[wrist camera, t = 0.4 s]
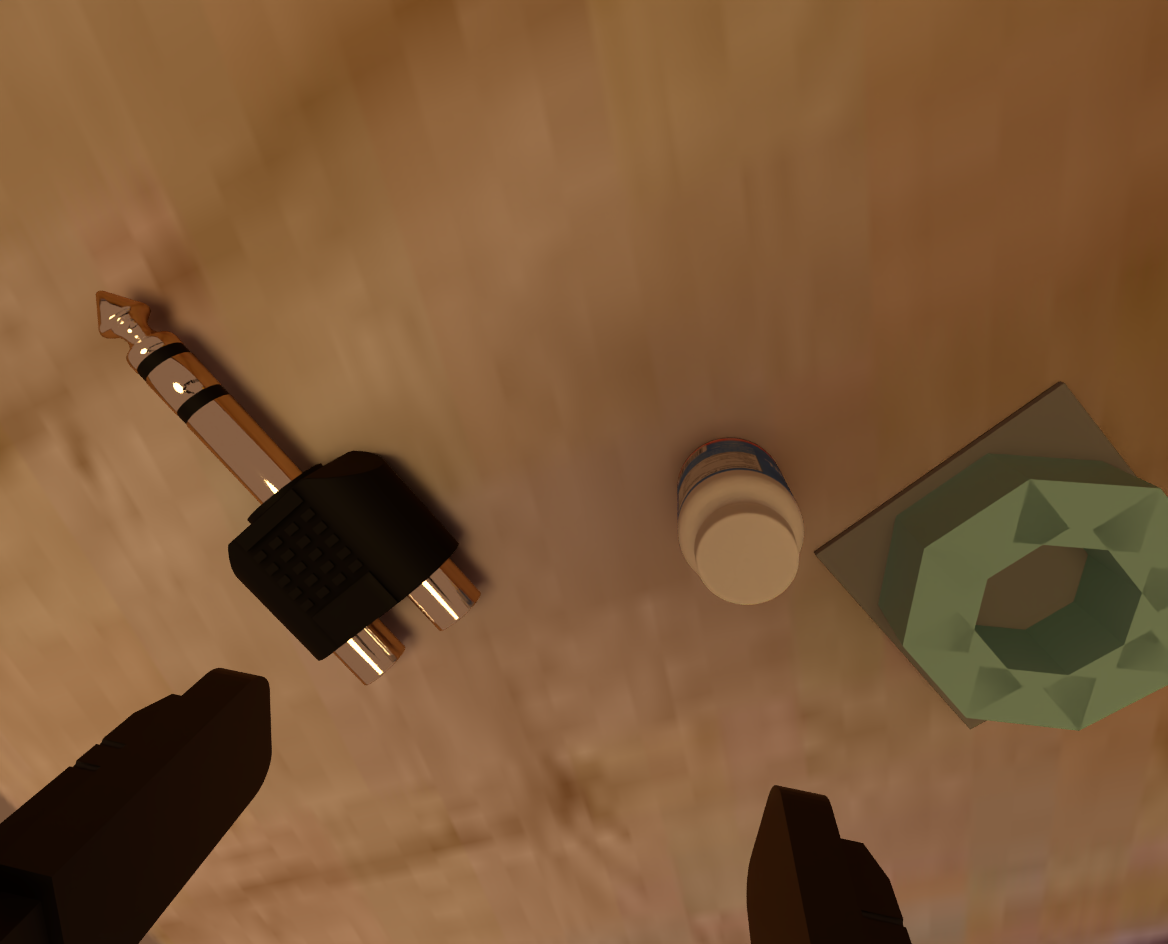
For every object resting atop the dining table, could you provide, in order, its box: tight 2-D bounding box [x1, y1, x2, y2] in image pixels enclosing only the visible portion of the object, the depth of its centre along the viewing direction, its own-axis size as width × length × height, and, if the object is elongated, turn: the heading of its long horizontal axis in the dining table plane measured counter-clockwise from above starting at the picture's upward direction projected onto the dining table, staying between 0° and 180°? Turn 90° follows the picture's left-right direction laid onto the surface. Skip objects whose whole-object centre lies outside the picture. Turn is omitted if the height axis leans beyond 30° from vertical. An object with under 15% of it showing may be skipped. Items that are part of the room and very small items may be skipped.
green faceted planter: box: [878, 453, 1168, 731], centre depth 31 cm, size 12×12×4 cm
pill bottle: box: [677, 438, 804, 605], centre depth 30 cm, size 6×5×10 cm
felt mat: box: [814, 382, 1136, 729], centre depth 34 cm, size 14×14×1 cm
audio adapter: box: [96, 291, 481, 685], centre depth 35 cm, size 11×5×25 cm
